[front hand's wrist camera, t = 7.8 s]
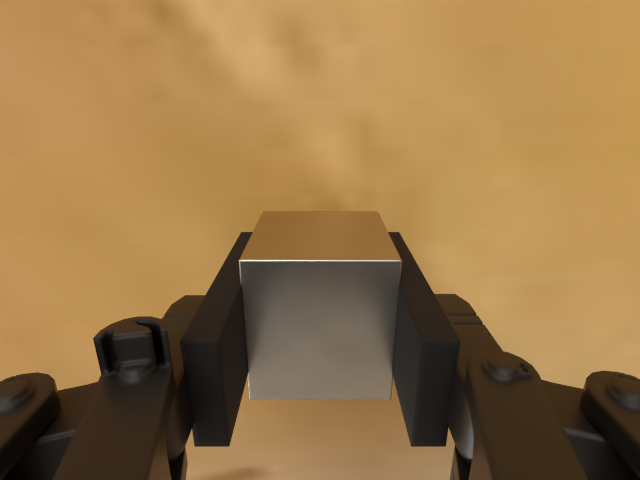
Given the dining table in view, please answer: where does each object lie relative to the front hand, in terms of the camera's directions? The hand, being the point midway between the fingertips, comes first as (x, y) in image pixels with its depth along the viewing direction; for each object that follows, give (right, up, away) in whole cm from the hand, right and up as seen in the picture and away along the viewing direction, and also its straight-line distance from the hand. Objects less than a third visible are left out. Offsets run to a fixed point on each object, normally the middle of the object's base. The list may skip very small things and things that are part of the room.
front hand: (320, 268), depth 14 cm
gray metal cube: (0, 0, 0) cm, 0 cm away
